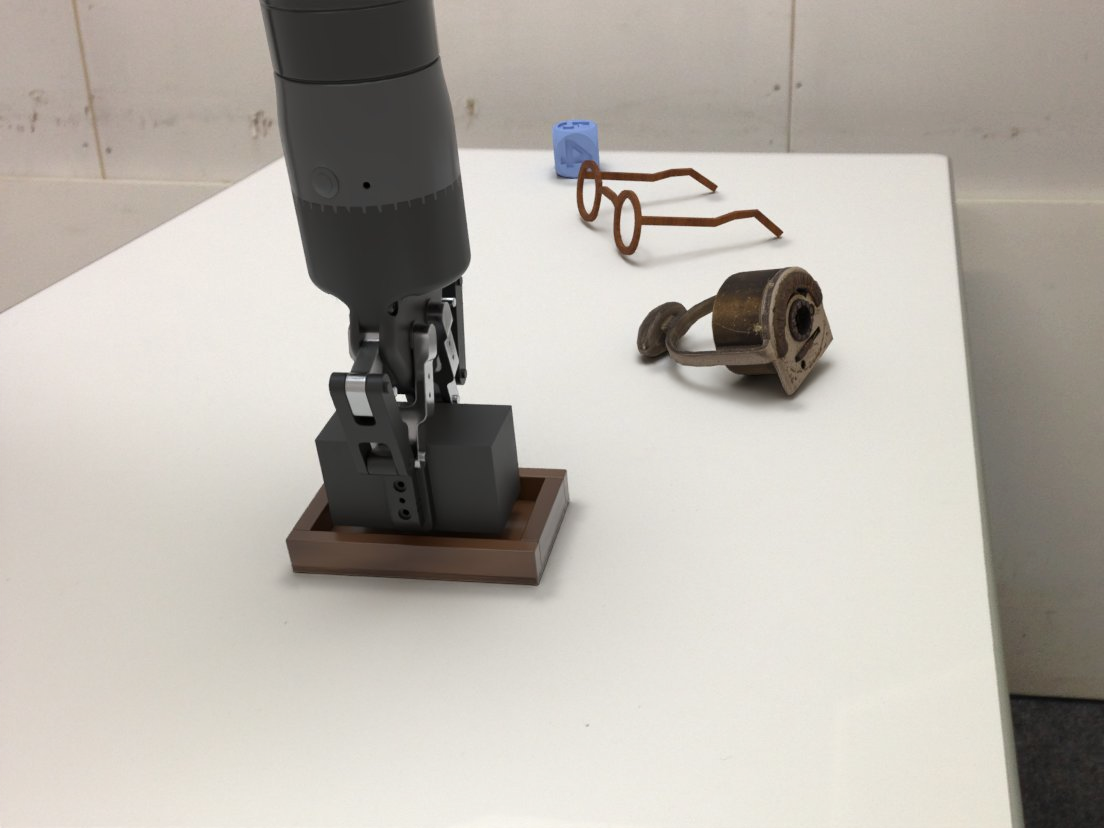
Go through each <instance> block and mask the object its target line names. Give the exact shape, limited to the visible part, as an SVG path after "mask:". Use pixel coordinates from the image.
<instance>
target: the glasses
mask: <svg viewBox="0 0 1104 828" xmlns="http://www.w3.org/2000/svg"><path fill="white" fill-rule="evenodd" d="M589 168H590V169H591V170H592V171H587V170H588V169H589ZM686 176H687V177H690V178H692V179H694V180H695V181H696V182H698V183H699V184H701V185H702V186H704V187H705V188H707V189H708V190H709V191H711V192H713V193H715V192H716V191H717V190H718V187H719V186H718V185H717V184H716V183H715V182H713V181H711V180H710V179H709V178H708V177H706V176H704V175H703V174H702V173H700V172H698V171H697V170H696V169H694V168H693V167H680V168H670V169H665V170H662V171H657V172H654V173H647V172H626V171H625V172H624V171H606V170H605V171H603V170H601V169H600V170H599V167H598V165H597V164H596V162H595V161H593V160H585V161H584V162H583V163H582V165H581V167H580V170H579V174H578V178H577V181H576V194H575V195H576V206H577V211H578V213H579V216H580V218H581V219H582V220H583V221H584V222H586V223H593V222H595V221H596V219H597V217H598V216H599V211H600V207H601V203H602V197H603V196H604V197H605V198H606V199H608V200H609V201H610V202H611V204H612V206H613V208H614V211H613V224H612V225H613V226H612V227H613V231H612V233H613V240H614V244H615V246H616V248H617V250H618V252H619V253H620V254H621V255H623V256H632V255H634V254H635V253H636V251H637V249H638V247H639V245H640V240H641V234H642V226H658V227H659V226H660V227H661V226H663V227H695V228H697V227H699V228H700V227H701V228H716V227H719V226H722V225H724V224H728V223H730V222H732V221H736V220H743V219H750V218H754V219H755V220H757V221H758V222H759V223H760V224H761V225H762V226H764V228H765V229H767V230H768V231H770V232H771V234H773V235H774V236H775V237H776V238H777V239H779V238H780V237H781V236H782V235H783V234H784V231H783V229H781V228H780V227H779V226H777V224H775V223H774V222H773V221H772V219H770V218H769V217H767V216H766V215H765V214H764V213H763V212H762V211H760V210H759V209H758V208H753V209H740V210H734V211H731V212H727V213H724V214H722V215H718V216H716V217H698V216H697V217H696V216H695V217H694V216H663V215H643V213H642V206H641V201H640V199H639V197H638V194H637V193H635V191H634V190H632V189H623V190H621V191H620V192H619V193H618V194H617V193H616V192H615V191H614V190H613V189H611V188H610V187H609V186H607V185H603V181H619V182H620V181H622V182H644V183H645V182H646V183H656V182H657V181H658V182H659V181H663V180H665V179H670V178H677V177H686ZM585 180H594V187H595V191H594V199H593V205H592V209H591V211H590V212H588V211H587V210H586V207H585V203H584V183H585ZM627 199H628V200H629V201H630V203H631V205H632V210H633V214H634V215H633V216H634V225H633V233H632V238H631V241H630V243H629V245H628V246H626V245H625V243H624V241H623V239H622V233H621V218H622V217H621V216H622V210H623V206H624V203H625V202H626V201H627Z"/></svg>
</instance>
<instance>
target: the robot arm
mask: <svg viewBox="0 0 1104 828" xmlns="http://www.w3.org/2000/svg"><path fill="white" fill-rule="evenodd" d="M258 2H259V7H260V12H261V16H262V17H261V18H262V21H263V27H264V32H265V36H266V42H267V47H268V51H269V56H270V63H271V65H272V66H271V67H272V70H273V80H274V87H275V98H276V114H277V125H278V131H279V132H278V133H279V137H280V143H281V148H282V153H283V157H284V162H285V167H286V172H287V176H288V181H289V187H290V193H291V197H292V201H293V206H294V211H295V215H296V220H297V225H298V231H299V235H300V240H301V244H302V245H301V246H302V250H303V254H304V260H305V265H306V270H307V274H308V277H309V279H310V281H311V283H312V284H313V285H314V286H315V287H316V288H317V289H318V290H319V291H321V292H323V293H325V294H327V295H331V296H332V297H335V299H338V300H340V302H342V303H343V304H344V305H345V306H346V307H347V308H348V310H349V314H348V320H349V321H348V322H349V325H348V327H347V342H348V343H347V344H348V354H349V357H350V358H351V360H352V362H353V364H352V366H351V369H350V371H349V372H345V371H344V372H343V371H333V372H331V374H330V376H329V379H328V391H329V395H330V398H331V401H332V404H333V406H334V409H335V411H336V412H337V415H338V417H339V420H340V423H341V426H342V428H343V431H344V434H345V437H346V439H347V442H348V445H349V447H350V450H351V453H352V456H353V458H354V461H355V464H356V467H357V469H358V472H359V474H361V475H382V478H383V484H384V489H385V494H386V500H387V505H388V510H389V516H390V521H391V524H392V526H393V527H394V528H395V529H396V530H399V531H410V532H429V531H430V530H431V529H432V528H433V526H434V524H435V522H436V514H435V508H434V501H433V495H432V489H431V483H430V476H429V470H428V464H427V458H428V456H427V449H426V429H425V422H426V420H427V419H429V418H431V417H432V416H433V414H434V403H460V404H461V397H460V393H459V389H458V386H464V385H465V384H466V381H467V378H468V370H467V357H466V338H465V337H466V336H465V318H464V315H465V314H464V296H463V293H464V292H463V284H464V280H463V276H464V274H465V273H466V272H467V270H468V268H469V267H470V264H471V261H472V260H471V259H472V253H471V252H472V251H471V245H470V243H471V242H470V236H469V235H470V234H469V229H468V220H467V219H468V218H467V212H466V204H465V195H464V188H463V180H462V172H461V164H460V156H459V155H460V154H459V147H458V140H457V131H456V123H455V117H454V111H453V105H452V101H451V95H450V92H449V89H448V85H447V81H446V77H445V74H444V69H443V64H442V58H441V55H440V52H441V50H440V49H441V48H440V42H439V34H438V26H437V18H436V10H435V9H436V8H435V2H434V0H258ZM398 395H405V396H404V397H405V399H406V401H400V402H397V401H398V400H397V396H398ZM409 402H414V403H409ZM403 422H405V423H406V424H407V426H408V432H409V439H408V436H407V433H406V430H405V427H404V423H403Z"/></svg>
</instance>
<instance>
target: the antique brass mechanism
mask: <svg viewBox="0 0 1104 828" xmlns="http://www.w3.org/2000/svg"><path fill="white" fill-rule="evenodd" d="M823 299H824V296H823V291H822V288H821V286H820V284H819V283H818V281H817V280H816V279H814V277H813V276H812V275H811V273H809V272H808V271H807V270H806V269H805V268H803V267H800V266H786V267H785V266H784V267H782V268H781V267H779V268H768V269H758V270H748V271H740V272H736V273H733V274H730V275H729V276H728V277H727V278H726V279H725V280H724V281H723V283H722V284H721V285H720V287H719V288H718V289H717V292H716V294H715V295H713V296H710V297H708V298H706V299H703V300H702V301H700V302H699V303H697V304H695V305H693V306H691V307H690V308H689V309H687V308H686V307H685V306H684V305H683V303H681V302H678V301H666V302H664V303H661V304H659V305H657V306H656V307H654V308H653V309H651V310H650V311H649V312H648V313H647V315H646V316H645V317H644V319H643V321H642V322H641V323H640V325H639V327H638V330H637V337H636V347H637V350H638V352H639V353H640V355H643V356H645V357H650V358H652V357H657V356H658V355H659V356H660V355H661V354H663V353H665V352H667V351H668V353H669V356H670V358H671V359H672V360H673V361H674V362H675V363H677V364H679V365H681V366H685V367H695V368H703V367H705V368H706V367H707V368H708V367H717V366H725V367H726V368H727V370H729V372H731V373H733V374H735V375H738V376H739V375H740V376H741V375H742V376H759V375H778V379H779V381H780V383H781V386H782V388H783V390H784V392H785V394H786V395H787V396H792V395H793V394H794V393H795V392H796V391H797V390H798V388H799V387H800V386H801V385H802V383H803V382H804V381H805V379H806V378H807V376H808V375H809V374H810V372H811V371H812V370H813V368H814V367H815V366H816V364H817V363H818V362H819V360H820V359H821V358H822V356H823V355H824V354H825V352H826V350H827V349H828V348H829V347H830V345H831V343H832V342H833V340H834V336H833V332H832V329H831V325H830V323H829V319H828V316H827V314H826V311H825V308H824V302H823ZM711 313H712V314H711ZM710 314H711V332H712V341H713V343H714V348H715V350H697V351H689V350H681V349H677V345H678V342H679V341H680V340H681V339H682V338H683V337H684V336H685V335H686V334H687V333H688V331H690V329H691V328H692V326H694V324H695V323H697V322H698V321H699V320H700V319H702V318H704V317H706V316H708V315H710Z"/></svg>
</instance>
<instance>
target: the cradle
mask: <svg viewBox="0 0 1104 828" xmlns="http://www.w3.org/2000/svg"><path fill="white" fill-rule="evenodd" d="M519 475H520V484H521V491H520V493H519V495H518V498H517V500H516V502H515V504H514V507H513V509H512V511H511V514H510V516H509V518H508V521H507V523H506V525H505V528H504V530H503V532H502V533H501V534H500V533H479V532H458V531H437V530H430V531H429V532H410V531H399V530H396V529H395V528H375V527H355V526H334V525H333V522H332V517H331V513H330V508H329V504H328V499H327V494H326V490H325V485H324V482H323V483H322V484H321V486H320V488H319V489H318V491H317V492H316V493H315V495H314V496H313V498H312V499H311V501H310V502H309V504H307V507H306V508H305V510H304V511H303V512H302V513H301V515H300V517H299V518H298V520H297V521H296V523H295V525H294V526H293V527H292V530H291V531H290V532H289V533H288V535H287V536H286V538H285V544H286V548H287V553H288V556H289V561H290V564H291V565H290V566H291V570H292V572H293V573H308V574H328V575H345V576H364V577H365V576H366V577H382V578H400V579H401V578H403V579H420V580H421V579H422V580H438V581H439V580H441V581H458V582H459V581H460V582H475V583H476V582H477V583H478V582H479V583H494V584H495V583H497V584H518V585H536V586H538V585H539V584H540V581H541V577H542V575H543V573H544V570H545V567H546V566H547V565H546V564H547V562H548V559H549V556H550V554H551V551H552V548H553V546H554V543H555V540H556V537H557V535H558V532H559V530H560V527H561V525H562V522H563V519H564V516H565V514H566V511H567V509H568V506H569V503H570V488H569V478H568V470H567V469H566V468H543V467H519Z"/></svg>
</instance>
